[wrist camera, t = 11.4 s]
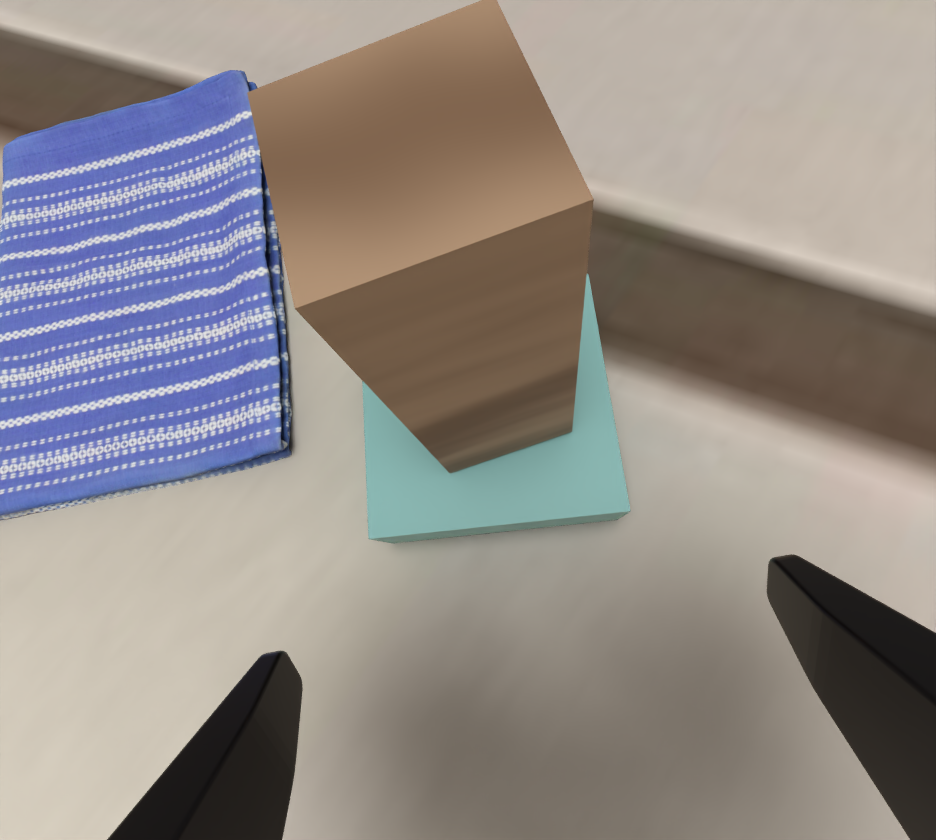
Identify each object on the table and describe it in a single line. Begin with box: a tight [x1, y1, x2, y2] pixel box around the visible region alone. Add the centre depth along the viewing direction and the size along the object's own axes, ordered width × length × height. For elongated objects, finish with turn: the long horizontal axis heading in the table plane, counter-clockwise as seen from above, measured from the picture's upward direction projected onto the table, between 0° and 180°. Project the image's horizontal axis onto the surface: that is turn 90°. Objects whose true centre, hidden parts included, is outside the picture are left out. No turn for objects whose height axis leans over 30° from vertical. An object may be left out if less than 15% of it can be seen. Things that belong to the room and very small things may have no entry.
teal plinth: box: [362, 274, 630, 543], centre depth 23 cm, size 10×10×4 cm
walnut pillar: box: [247, 0, 594, 473], centre depth 15 cm, size 5×5×13 cm
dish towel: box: [0, 70, 292, 520], centre depth 29 cm, size 17×24×3 cm
